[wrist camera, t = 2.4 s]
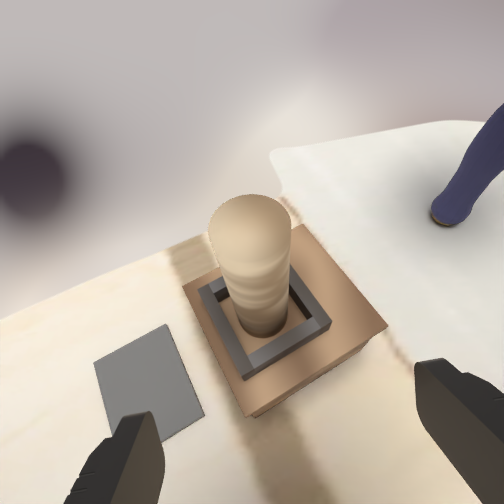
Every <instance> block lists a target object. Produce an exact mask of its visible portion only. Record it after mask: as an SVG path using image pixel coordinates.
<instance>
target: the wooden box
mask: <svg viewBox="0 0 504 504" xmlns="http://www.w3.org/2000/svg"><path fill="white" fill-rule="evenodd" d="M182 287H183V289H184V291H185V294H186V296H187V298H188V300H189V302H190V304H191V306H192V308H193V310H194V312H195V314H196V316H197V318H198V321H199V323H200V325H201V327H202V329H203V331H204V333H205V335H206V337H207V339H208V341H209V343H210V345H211V348H212V350H213V352H214V354H215V356H216V358H217V360H218V362H219V364H220V366H221V368H222V370H223V372H224V375H225V377H226V379H227V381H228V383H229V385H230V387H231V389H232V391H233V393H234V395H235V397H236V399H237V402H238V404H239V406H240V408H241V410H242V412H243V414H244V416H245V418H247V417H248V416H250V415H252V416H254V417H255V418H256V417H258V416H260V415H261V414H263V413H264V412H266V411H267V410H269V409H270V408H272V407H274V406H275V405H277V404H278V403H280V402H281V401H283V400H284V399H286V398H288V397H289V396H291V395H292V394H294V393H295V392H297V391H298V390H300V389H302V388H303V387H305V386H306V385H308V384H309V383H311V382H312V381H314V380H316V379H317V378H319V377H320V376H322V375H323V374H325V373H326V372H328V371H329V370H331V369H333V368H334V367H336V366H337V365H339V364H340V363H342V362H343V361H345V360H347V359H348V358H350V357H351V356H353V355H354V354H356V353H357V352H359V351H361V349H362V348H363V347H364V346H365V345H366V344H367V342H368V341H369V340H370V339H371V338H372V337H373V336H375V335H377V334H378V333H380V332H381V331H383V330H384V329H386V328H387V327H388V324H387V323H386V322H385V321H384V320H383V318H382V317H381V316H380V315H379V314H378V313H377V311H376V310H375V309H374V308H373V307H372V305H371V304H370V303H369V302H368V301H367V299H366V298H365V297H364V296H363V295H362V294H361V292H360V291H359V290H358V289H357V288H356V286H355V285H354V284H353V283H352V282H351V280H350V279H349V278H348V277H347V276H346V274H345V273H344V272H343V271H342V270H341V269H340V267H339V266H338V265H337V264H336V263H335V261H334V260H333V259H332V258H331V257H330V255H329V254H328V253H327V252H326V251H325V249H324V248H323V247H322V246H321V245H320V244H319V242H318V241H317V240H316V239H315V238H314V236H313V235H312V234H311V233H310V232H309V230H308V229H307V228H306V227H305V226H304V224H301V225H299V226H297V227H295V228H293V229H292V230H291V244H290V269H289V294H288V317H287V322H286V324H285V326H284V328H283V329H282V330H281V331H280V332H279V333H278V334H276V335H275V336H273V337H270V338H256V337H253V336H251V335H249V334H248V333H247V332H245V331H244V329H243V328H242V327H241V325H240V322H239V319H238V317H237V314H236V311H235V308H234V306H233V303H232V300H231V297H230V294H229V292H228V289H227V286H226V283H225V281H224V278H223V275H222V272H221V269H220V267H219V268H217V269H215V270H213V271H211V272H209V273H207V274H205V275H203V276H201V277H199V278H197V279H195V280H194V281H192V282H190V283H188V284H186V285H184V286H182Z"/></svg>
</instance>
